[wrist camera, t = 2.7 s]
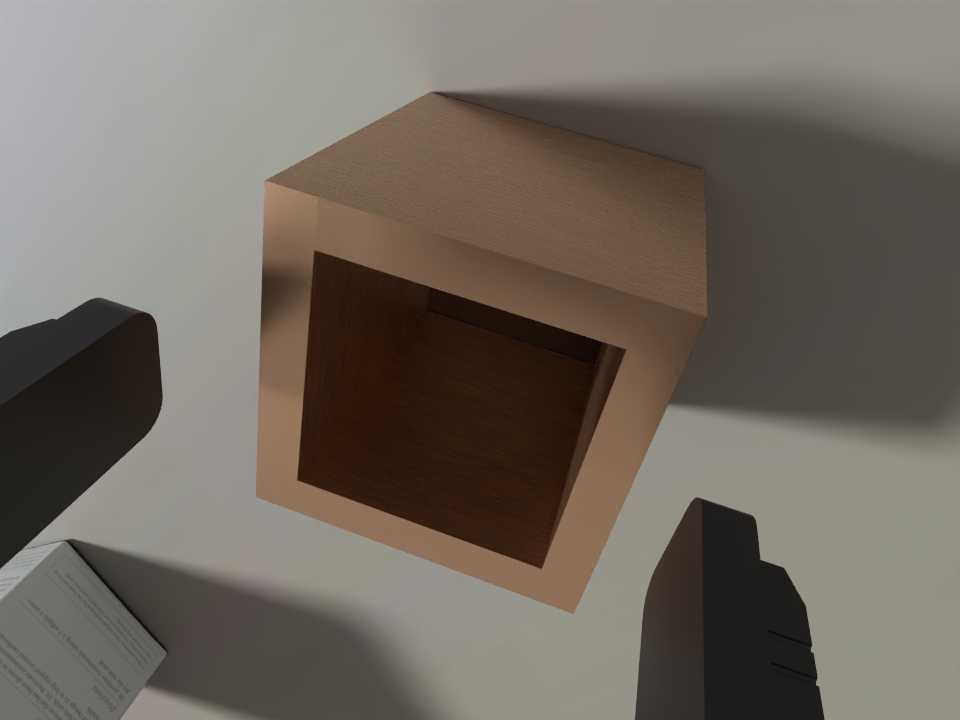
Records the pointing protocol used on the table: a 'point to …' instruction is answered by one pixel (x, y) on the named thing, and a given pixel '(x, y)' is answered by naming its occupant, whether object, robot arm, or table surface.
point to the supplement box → (67, 641)
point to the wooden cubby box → (474, 337)
